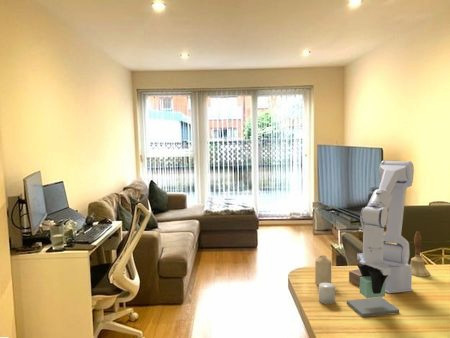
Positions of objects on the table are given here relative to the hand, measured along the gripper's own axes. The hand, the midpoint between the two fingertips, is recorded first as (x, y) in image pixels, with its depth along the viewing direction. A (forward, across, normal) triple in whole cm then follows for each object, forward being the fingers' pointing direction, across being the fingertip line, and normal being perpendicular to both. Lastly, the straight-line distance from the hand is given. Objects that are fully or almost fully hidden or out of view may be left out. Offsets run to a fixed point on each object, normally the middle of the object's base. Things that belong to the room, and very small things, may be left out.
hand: (372, 290), depth 112 cm
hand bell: (+6, -23, +34) cm, 41 cm away
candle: (+6, -21, -6) cm, 23 cm away
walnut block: (+6, -19, +7) cm, 21 cm away
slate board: (+6, 0, 0) cm, 6 cm away
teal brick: (+1, 0, 0) cm, 1 cm away
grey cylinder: (+6, -8, -11) cm, 15 cm away
